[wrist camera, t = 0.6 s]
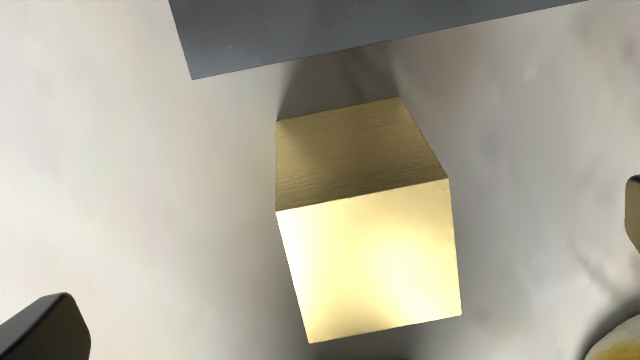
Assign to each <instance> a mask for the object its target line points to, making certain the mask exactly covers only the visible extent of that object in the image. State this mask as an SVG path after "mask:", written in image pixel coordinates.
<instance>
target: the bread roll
mask: <svg viewBox="0 0 640 360" xmlns="http://www.w3.org/2000/svg"><path fill="white" fill-rule="evenodd" d="M584 360H640V314H638V315H636V316H634V317H631V318H629V319H627V320H626V321H624V322H622V323H621V324H619V325H618V326H617V327H616V328H614V329H613V330H612V331H610V332H609V333H608V334H606V335H605V336H604V337H603V338H602V339H600V340H599V341H598V342H597V343H596V344H595V345H594V346H593V347H592V348H591V349H590V350H589V352H588V353H587V355H586V357H585V359H584Z"/></svg>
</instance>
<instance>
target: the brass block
mask: <svg viewBox="0 0 640 360" xmlns="http://www.w3.org/2000/svg"><path fill="white" fill-rule="evenodd" d="M276 216H277V219H278V223H279V227H280V231H281V235H282V239H283V243H284V247H285V251H286V255H287V259H288V263H289V267H290V271H291V275H292V278H293V282H294V286H295V290H296V294H297V298H298V302H299V306H300V310H301V314H302V318H303V322H304V326H305V330H306V334H307V337H308V341H309V344H311V343H316V342H321V341H326V340H332V339H337V338H342V337H347V336H353V335H358V334H363V333H368V332H374V331H379V330H384V329H389V328H395V327H400V326H405V325H410V324H416V323H421V322H426V321H431V320H437V319H442V318H447V317H452V316H458V315H462V313H461V302H460V291H459V281H458V270H457V259H456V248H455V238H454V227H453V216H452V205H451V195H450V184H449V178H448V176H447V174H446V173H445V171H444V169H443V168H442V166H441V164H440V163H439V161H438V159H437V158H436V156H435V154H434V153H433V151H432V150H431V148H430V146H429V145H428V143H427V141H426V140H425V138H424V136H423V135H422V133H421V131H420V130H419V128H418V126H417V125H416V123H415V122H414V120H413V118H412V117H411V115H410V113H409V112H408V110H407V108H406V107H405V105H404V103H403V102H402V100H401V98H400V97H394V98H389V99H384V100H379V101H374V102H369V103H364V104H359V105H354V106H349V107H344V108H339V109H334V110H329V111H324V112H319V113H314V114H309V115H304V116H299V117H294V118H289V119H284V120H279V121H276Z"/></svg>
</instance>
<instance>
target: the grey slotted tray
mask: <svg viewBox="0 0 640 360" xmlns="http://www.w3.org/2000/svg"><path fill="white" fill-rule="evenodd" d="M168 1H169V4H170V7H171V11H172V14H173V17H174V21H175V24H176V28H177V31H178V34H179V38H180V41H181V45H182V48H183V51H184V55H185V58H186V62H187V65H188V68H189V72H190V75H191V78H192V80H195V79H200V78H205V77H210V76H215V75H220V74H225V73H230V72H235V71H240V70H245V69H250V68H255V67H260V66H265V65H270V64H274V63H279V62H284V61H289V60H294V59H299V58H304V57H309V56H314V55H319V54H324V53H329V52H334V51H339V50H344V49H349V48H354V47H359V46H364V45H369V44H374V43H378V42H383V41H388V40H393V39H398V38H403V37H408V36H413V35H418V34H423V33H428V32H433V31H438V30H443V29H448V28H453V27H458V26H463V25H468V24H473V23H478V22H483V21H487V20H492V19H497V18H502V17H507V16H512V15H517V14H522V13H527V12H532V11H537V10H542V9H547V8H552V7H557V6H562V5H567V4H572V3H577V2H582V1H587V0H168Z"/></svg>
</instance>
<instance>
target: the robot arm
mask: <svg viewBox="0 0 640 360" xmlns="http://www.w3.org/2000/svg"><path fill="white" fill-rule="evenodd" d="M625 229H626V232H627V234H628V237H629V238H630V240H631V242H632V243H633V244H634V246H635V247H636V249H637V250H638V252H639V253H640V174H639V175H634V176H632V177H630V178H629V179H628V181H627V183H626V192H625ZM90 349H91V337H90V333H89V330H88V328H87V326H86V324H85V321H84V319H83V317H82V315H81V313H80V311H79V308H78V306H77V304H76V302H75V300H74V298H73V297H72V296H71V295H70V294H69V293H66V292H62V293H57V294H52V295H47V296H43V297H41V298H39V299H38V300H36V301H35V302H33V303H32V304H30V305H29V306H27V307H26V308H25V309H23V310H22V311H20V312H19V313H17V314H16V315H14V316H13V317H11V318H10V319H9V320H7V321H6V322H4V323H3V324H1V325H0V360H89V355H90Z"/></svg>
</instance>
